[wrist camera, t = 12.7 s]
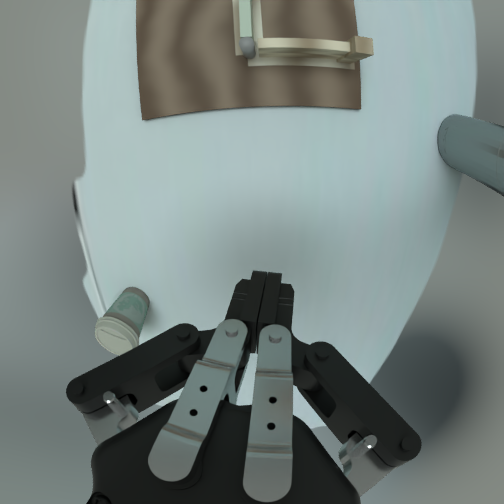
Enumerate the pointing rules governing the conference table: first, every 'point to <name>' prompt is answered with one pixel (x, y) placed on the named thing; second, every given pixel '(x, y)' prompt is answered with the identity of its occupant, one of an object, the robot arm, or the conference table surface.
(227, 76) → the board
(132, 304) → the coffee cup
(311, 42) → the fixed fence panel
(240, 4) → the hinged fence panel
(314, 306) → the conference table surface
